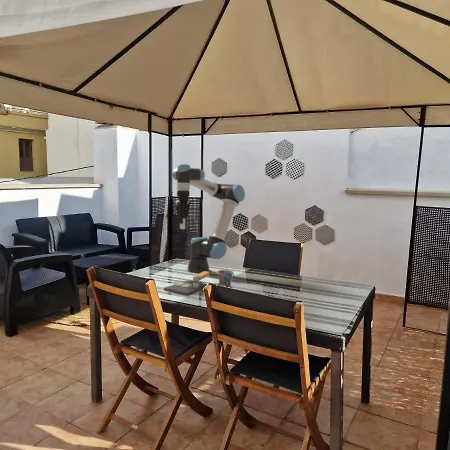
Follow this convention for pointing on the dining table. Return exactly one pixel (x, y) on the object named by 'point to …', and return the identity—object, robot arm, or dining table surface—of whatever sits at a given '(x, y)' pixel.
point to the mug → (225, 277)
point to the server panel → (186, 287)
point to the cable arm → (200, 276)
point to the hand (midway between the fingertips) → (182, 228)
